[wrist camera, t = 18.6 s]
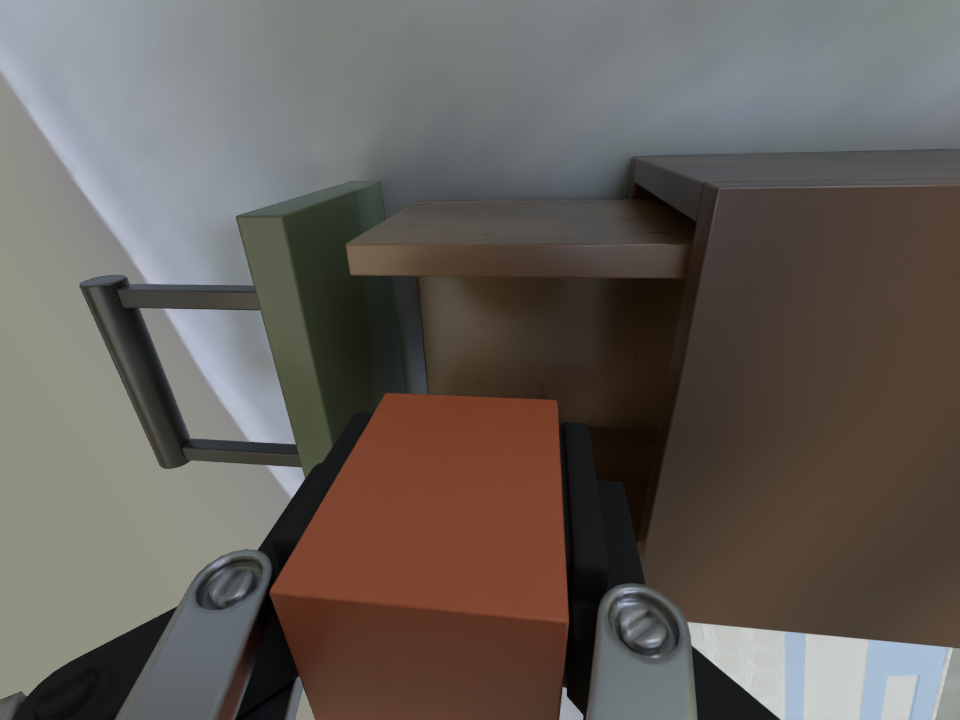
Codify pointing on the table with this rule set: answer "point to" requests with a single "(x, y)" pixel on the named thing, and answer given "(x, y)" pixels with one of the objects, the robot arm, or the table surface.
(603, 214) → the drawer
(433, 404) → the block
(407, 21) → the table surface
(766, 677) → the calculator
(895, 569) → the cabinet
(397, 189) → the table surface
